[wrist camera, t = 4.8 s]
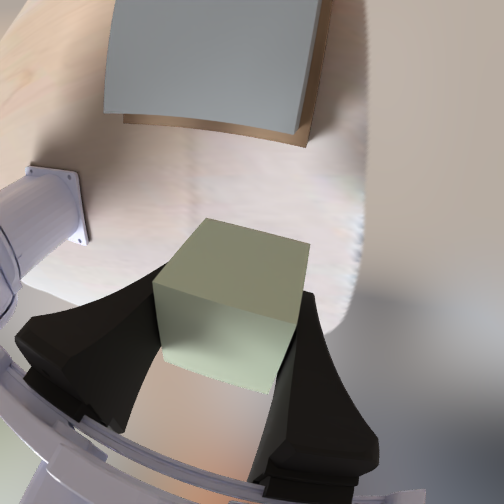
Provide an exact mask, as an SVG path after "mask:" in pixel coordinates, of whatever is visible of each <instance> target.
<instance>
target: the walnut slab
mask: <svg viewBox="0 0 504 504" xmlns="http://www.w3.org/2000/svg"><path fill="white" fill-rule="evenodd" d="M332 3H333V0H322V4H321V10H320V16H319V22H318V27H317V33H316V39H315V44H314V50H313V55H312V61H311V66H310V72H309V77H308V82H307V88H306V93H305V98H304V103H303V108H302V113H301V118H300V123H299V129H298V130H297V131H296V132H295V134H294V135H291V134H287V133H282V132H277V131H272V130H267V129H262V128H256V127H251V126H245V125H239V124H233V123H226V122H219V121H211V120H203V119H195V118H185V117H175V116H162V115H146V114H123V123H129V124H148V125H162V126H174V127H184V128H193V129H202V130H210V131H217V132H224V133H231V134H237V135H243V136H249V137H255V138H261V139H266V140H271V141H276V142H281V143H286V144H290V145H295V146H300V147H304V148H306V146H307V143H308V139H309V134H310V129H311V124H312V119H313V113H314V108H315V103H316V98H317V92H318V87H319V82H320V76H321V70H322V65H323V59H324V53H325V47H326V41H327V35H328V29H329V23H330V16H331V10H332Z"/></svg>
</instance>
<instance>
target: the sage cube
mask: <svg viewBox="0 0 504 504" xmlns="http://www.w3.org/2000/svg"><path fill="white" fill-rule="evenodd" d="M309 249H310V244H308V243H304V242H301V241H297V240H293V239H289V238H285V237H281V236H277V235H274V234H270V233H266V232H262V231H258V230H254V229H250V228H246V227H242V226H238V225H234V224H230V223H226V222H222V221H217V220H213V219H209V218H206V219H205V220H204V221H203V222H202V223H201V224H200V225H199V227H198V228H197V229H196V230H195V231H194V232H193V234H192V235H191V236H190V237H189V238H188V239H187V241H186V242H185V243H184V244H183V245H182V246H181V248H180V249H179V250H178V251H177V252H176V253H175V255H174V256H173V257H172V258H171V259H170V261H169V262H168V263H167V264H166V266H165V267H164V268H163V269H162V270H161V272H160V273H159V274H158V275H157V276H156V278H155V279H154V280H153V281H152V282H153V291H154V299H155V307H156V314H157V321H158V328H159V334H160V340H161V346H162V352H163V357H164V361H166V362H168V363H171V364H174V365H177V366H179V367H182V368H184V369H187V370H190V371H193V372H195V373H198V374H201V375H204V376H207V377H210V378H213V379H216V380H219V381H222V382H226V383H228V384H232V385H235V386H238V387H242V388H246V389H249V390H253V391H256V392H260V393H264V394H267V395H268V393H269V391H270V389H271V386H272V384H273V382H274V379H275V377H276V375H277V372H278V370H279V368H280V365H281V363H282V360H283V358H284V356H285V353H286V351H287V348H288V346H289V343H290V341H291V338H292V336H293V333H294V331H295V328H296V325H297V321H298V316H299V310H300V304H301V299H302V293H303V287H304V281H305V275H306V269H307V262H308V256H309Z"/></svg>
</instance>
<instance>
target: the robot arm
mask: <svg viewBox="0 0 504 504" xmlns="http://www.w3.org/2000/svg"><path fill="white" fill-rule="evenodd" d="M25 172H26V176H24V177H22V178H21V179H19V180H17V181H15V182H13V183H12V184H10V185H8V186H6V187H5V188H3V189H1V190H0V329H1V328H3V327H4V326H5V325H6V323H8V321H9V320H10V319H11V317H12V315H13V314H14V311H15V308H16V306H17V302H18V295H17V292H18V291H19V290H20V289H21V288H22V284H21V281H20V280H21V279H22V278H23V277H24V276H25V275H26V274H27V273H28V272H29V271H30V270H31V269H33V268H34V267H35V266H36V265H37V264H38V263H39V262H41V261H42V260H43V259H44V258H45V257H46V256H48V255H49V254H50V253H51V252H52V251H53V250H55V249H56V248H57V247H58V246H60V245H61V244H62V243H63V242H64V241H66V240H69V241H72V242H75V243H78V244H80V245H83V246H86V245H88V243H89V241H88V236H87V231H86V226H85V220H84V214H83V208H82V201H81V194H80V186H79V177H78V174H77V173H76V172H74V171H67V170H60V169H52V168H44V167H36V166H27V167H26V168H25ZM167 263H168V262H167ZM167 263H166V264H167ZM166 264H164V265H163V266H161V267H159V268H158V269H156V270H154V271H153V272H151V273H150V274H148V275H146V276H144V277H143V278H141V279H139V280H138V281H136V282H134V283H132V284H130V285H128V286H127V287H125V288H123V289H121V290H119V291H117V292H115V293H113V294H111V295H108V296H106V297H104V298H101V299H99V300H96V301H93V302H91V303H88V304H85V305H82V306H79V307H76V308H73V309H69V310H66V311H61V312H57V313H52V314H46V315H40V316H34V317H31V319H30V320H29V321H28V322H27V323H26V324H25V325H24V326H23V328H22V329H21V330H20V331H19V332H18V333H17V335H16V336H15V342H16V345H17V346H18V348H19V350H20V351H21V352H22V354H23V355H24V357H25V358H26V360H27V361H28V362H29V364H30V365H31V366H32V367H31V368H30V369H29V371H28V372H27V373H26V372H25V371H24V370H23V369H22V368H20V367H19V366H18V365H17V364H16V363H15V362H13V361H12V358H11V357H10V355H9V354H8V353H7V352H6V351H5V349H4V348H3V347H2V346H1V345H0V417H1V418H2V419H3V420H4V422H5V423H6V424H7V425H8V426H9V427H10V428H11V429H12V430H13V431H14V432H15V433H16V435H17V436H18V437H19V438H20V439H21V440H22V441H23V442H24V443H25V444H27V446H29V447H30V448H31V449H32V450H33V451H34V452H35V453H36V454H37V455H38V456H39V457H41V459H42V461H41V463H40V465H39V466H38V469H37V470H36V472H35V474H34V476H33V477H32V479H31V481H30V483H29V485H28V487H27V489H26V491H25V493H24V495H23V497H22V499H21V501H20V503H19V504H199V503H196V502H193V501H190V500H187V499H184V498H182V497H179V496H176V495H174V494H171V493H168V492H166V491H164V490H161V489H159V488H156V487H154V486H152V485H149V484H147V483H145V482H143V481H141V480H139V479H136V478H135V477H132V476H130V475H128V474H126V473H124V472H122V471H121V470H119V469H117V468H115V467H113V466H111V465H109V464H108V463H106V462H105V461H106V460H107V457H108V455H107V454H106V453H104V452H103V451H101V450H100V449H99V448H97V447H96V446H94V445H93V444H92V442H91V441H89V440H88V439H86V438H85V437H83V436H82V435H81V434H79V433H78V432H76V431H75V429H74V427H75V428H77V429H78V430H80V431H81V432H83V433H84V434H86V435H88V436H89V437H91V438H93V439H94V440H96V441H98V442H99V443H101V444H103V445H105V446H106V447H108V448H110V449H112V450H113V451H115V452H117V453H119V454H121V455H123V456H125V457H127V458H129V459H131V460H133V461H135V462H137V463H139V464H141V465H144V466H146V467H148V468H150V469H152V470H155V471H157V472H159V473H162V474H164V475H167V476H169V477H172V478H174V479H177V480H180V481H182V482H185V483H188V484H191V485H194V486H196V487H200V488H203V489H206V490H209V491H212V492H216V493H219V494H223V495H227V496H231V497H234V498H238V499H243V500H247V501H252V502H257V503H262V504H425V496H426V490H425V489H418V490H407V491H398V492H394V493H390V494H388V495H385V496H353V493H354V486H357V485H358V481H359V476H361V475H363V474H365V473H368V472H370V471H372V470H374V469H375V468H376V467H377V466H378V465H379V443H378V438H377V436H376V435H375V434H374V432H373V431H372V430H371V429H370V427H369V426H368V425H367V423H366V422H365V420H364V419H363V418H362V416H361V414H360V413H359V411H358V410H357V408H356V407H355V405H354V403H353V401H352V400H351V398H350V396H349V395H348V393H347V391H346V389H345V387H344V385H343V383H342V381H341V379H340V377H339V375H338V373H337V371H336V368H335V366H334V364H333V361H332V359H331V356H330V354H329V351H328V348H327V345H326V342H325V339H324V336H323V332H322V329H321V325H320V321H319V317H318V313H317V308H316V303H315V296H314V294H313V293H310V292H306V291H303V293H302V299H301V304H300V310H299V316H298V321H297V325H296V328H295V331H294V333H293V336H292V338H291V341H290V343H289V346H288V348H287V351H286V353H285V356H284V358H283V360H282V363H281V365H280V368H279V370H278V372H277V378H276V385H275V390H274V396H273V400H272V403H271V407H270V411H269V414H268V418H267V421H266V424H265V428H264V431H263V435H262V438H261V441H260V444H259V447H258V450H257V453H256V456H255V459H254V462H253V465H252V468H251V471H250V474H249V477H248V479H247V482H244V481H240V480H236V479H232V478H229V477H225V476H221V475H218V474H215V473H211V472H208V471H205V470H202V469H199V468H196V467H193V466H190V465H187V464H185V463H182V462H179V461H177V460H174V459H171V458H169V457H167V456H164V455H162V454H159V453H157V452H155V451H152V450H150V449H148V448H146V447H143V446H141V445H139V444H137V443H135V442H133V441H131V440H129V439H127V438H125V437H123V436H121V435H119V434H121V433H124V432H125V429H126V426H127V422H128V420H129V417H130V414H131V411H132V408H133V405H134V403H135V400H136V398H137V395H138V392H139V390H140V388H141V385H142V383H143V381H144V379H145V376H146V374H147V372H148V370H149V368H150V366H151V363H152V361H153V359H154V358H155V356H156V354H157V352H158V351H159V349H160V347H161V340H160V334H159V328H158V321H157V314H156V307H155V299H154V291H153V282H152V281H153V280H154V279H155V278H156V276H157V275H158V274H159V273H160V272H161V270H162V269H163V268H164V267H165V266H166ZM73 426H74V427H73ZM228 504H249V503H243V502H238V501H229V503H228Z"/></svg>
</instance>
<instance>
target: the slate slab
mask: <svg viewBox="0 0 504 504" xmlns="http://www.w3.org/2000/svg"><path fill="white" fill-rule="evenodd" d="M321 4H322V0H116V2H115V7H114V12H113V18H112V24H111V30H110V37H109V44H108V53H107V62H106V74H105V88H104V113H117V114H146V115H162V116H175V117H185V118H195V119H203V120H211V121H219V122H226V123H233V124H239V125H245V126H251V127H256V128H262V129H267V130H272V131H277V132H282V133H287V134H291V135H294V134H295V132H296V131H297V130H298V129H299V123H300V118H301V113H302V108H303V103H304V98H305V93H306V88H307V82H308V77H309V72H310V66H311V61H312V55H313V50H314V44H315V39H316V33H317V27H318V22H319V16H320V10H321Z"/></svg>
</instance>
